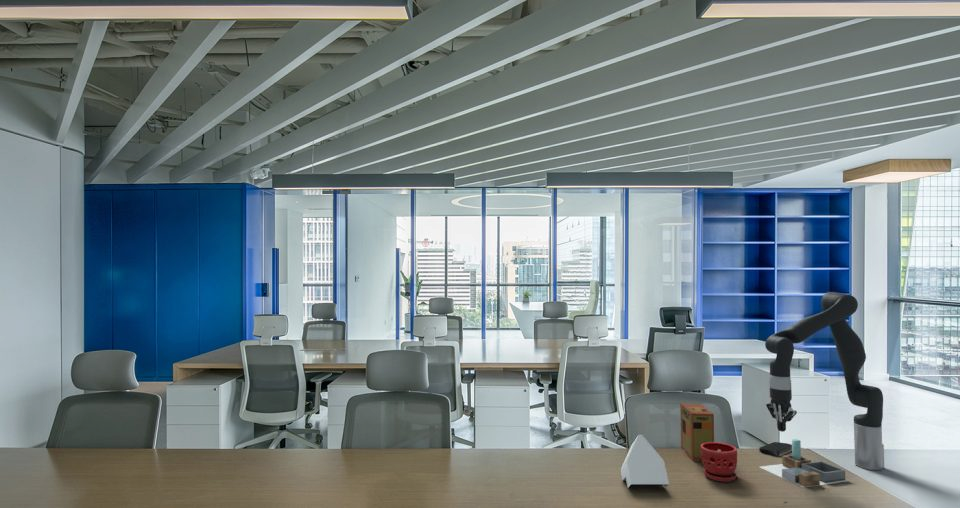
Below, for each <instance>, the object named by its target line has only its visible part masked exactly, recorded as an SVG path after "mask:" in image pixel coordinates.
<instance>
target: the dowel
mask: <svg viewBox="0 0 960 508" xmlns="http://www.w3.org/2000/svg"><path fill="white" fill-rule="evenodd" d="M791 445H792V451H791V455H792V459H795V460H801V456H802V450H801V447H802V446H801V440H799V439H795V438H794V439H792V438H791Z"/></svg>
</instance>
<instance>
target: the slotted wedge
mask: <svg viewBox="0 0 960 508" xmlns="http://www.w3.org/2000/svg"><path fill="white" fill-rule="evenodd" d="M620 474H621V480H622V481H626V486H627V488H629V487H630V486H631V485H664V489H666V488H667V487H668V486H669V485H670V482H669V477H668V473H667V468H666V464H665V460H664V459H663V458H662V456H661V455H660V454H659V452H657V451H656V449H655V448H654V447H653V446H652V445H651V443H649V441H648V440H647V438H645V436H644V435H643V434H638V435H637V436H636V438H635V440H633V442H632V444H631V445H630V448H629V449H628V452H627V455H626V457H625V459H624V461H623V463H622V466H621V468H620Z"/></svg>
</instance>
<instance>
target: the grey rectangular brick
mask: <svg viewBox="0 0 960 508" xmlns="http://www.w3.org/2000/svg"><path fill="white" fill-rule="evenodd" d="M807 472H808V471H806V470H803V469H801V468H799V467H798V468H789V469H782V479H784V478H785V479H784V480H786V479H787V480H786V481H788V480H789V481H788V482H790V481H791V483H792V482H793V484H794V483H799V473H807Z"/></svg>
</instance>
